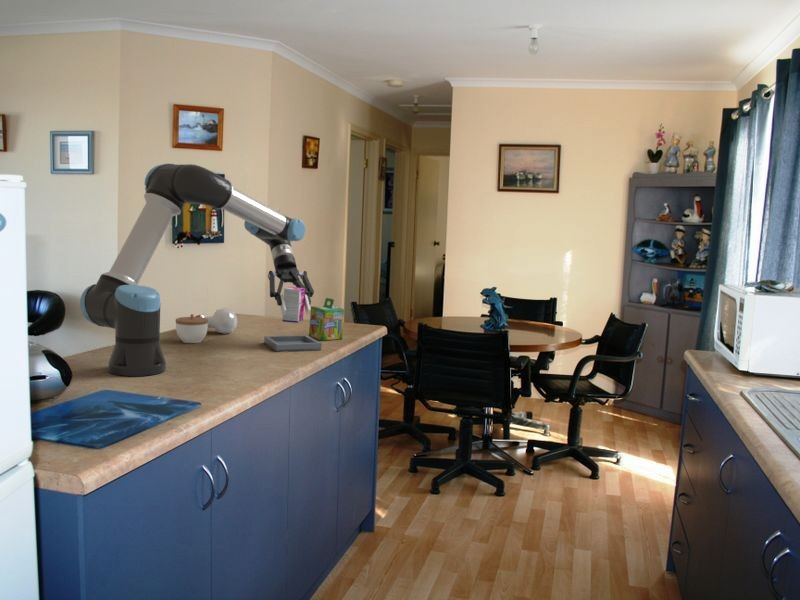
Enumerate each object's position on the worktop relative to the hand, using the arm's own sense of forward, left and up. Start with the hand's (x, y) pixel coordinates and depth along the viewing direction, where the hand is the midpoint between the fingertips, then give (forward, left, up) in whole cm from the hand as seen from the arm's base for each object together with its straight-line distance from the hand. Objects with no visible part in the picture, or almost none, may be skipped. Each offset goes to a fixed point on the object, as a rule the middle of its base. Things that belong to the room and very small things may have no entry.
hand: (296, 312), depth 246 cm
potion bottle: (-19, +33, -13) cm, 41 cm away
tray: (0, +3, -12) cm, 13 cm away
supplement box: (0, +3, -4) cm, 5 cm away
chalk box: (+17, +16, -13) cm, 27 cm away
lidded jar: (-31, +18, -13) cm, 38 cm away
